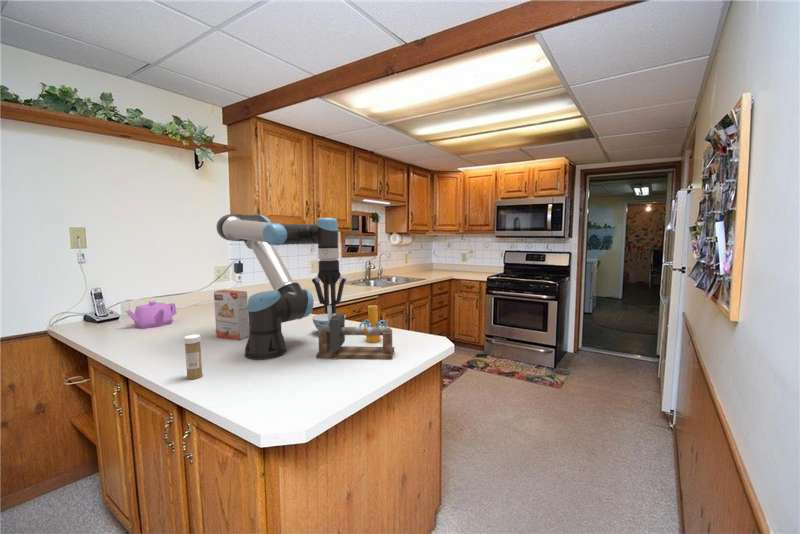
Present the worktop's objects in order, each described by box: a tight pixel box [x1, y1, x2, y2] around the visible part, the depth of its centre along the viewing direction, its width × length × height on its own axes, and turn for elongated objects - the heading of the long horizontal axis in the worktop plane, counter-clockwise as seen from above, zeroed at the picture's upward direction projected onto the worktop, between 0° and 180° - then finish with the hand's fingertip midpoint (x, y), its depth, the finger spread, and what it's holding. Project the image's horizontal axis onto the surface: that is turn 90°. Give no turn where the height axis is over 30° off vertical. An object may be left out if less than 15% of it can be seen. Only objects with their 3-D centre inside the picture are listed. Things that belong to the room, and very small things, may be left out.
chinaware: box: [312, 313, 347, 332], centre depth 166 cm, size 15×15×8 cm
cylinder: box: [358, 304, 388, 343], centre depth 154 cm, size 12×10×15 cm
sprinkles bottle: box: [183, 334, 203, 380], centre depth 115 cm, size 5×5×14 cm
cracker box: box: [213, 289, 249, 341], centre depth 161 cm, size 14×6×21 cm, turn 68°
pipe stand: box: [315, 326, 395, 360], centre depth 136 cm, size 28×10×11 cm, turn 86°
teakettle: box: [125, 300, 177, 330], centre depth 185 cm, size 17×17×12 cm
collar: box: [329, 312, 346, 350], centre depth 136 cm, size 3×11×11 cm, turn 176°
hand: (330, 322), depth 136 cm, fingers closed
